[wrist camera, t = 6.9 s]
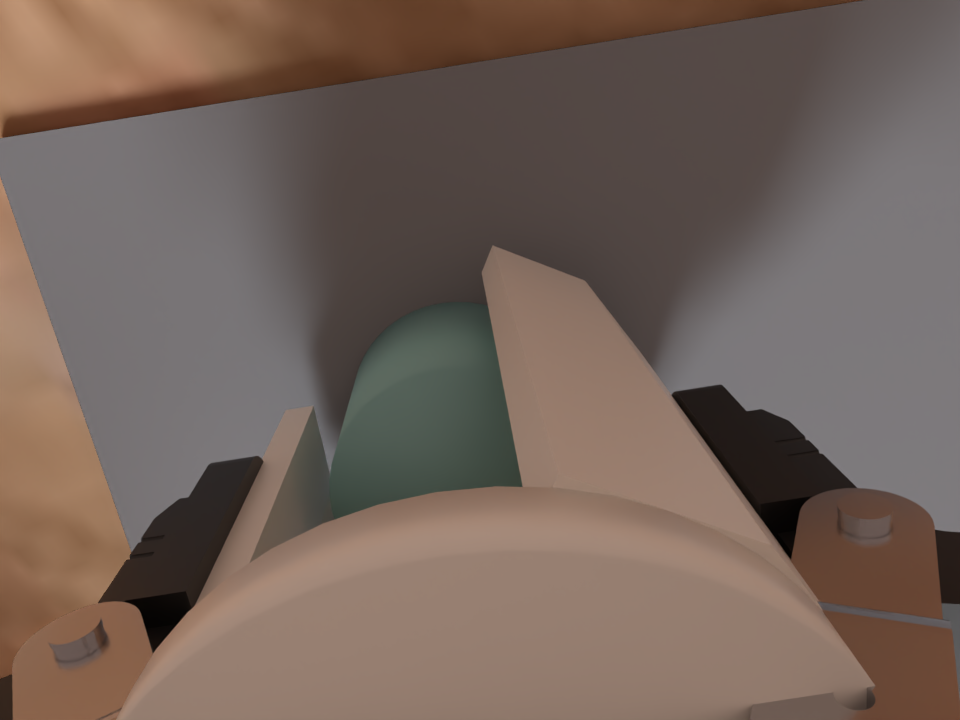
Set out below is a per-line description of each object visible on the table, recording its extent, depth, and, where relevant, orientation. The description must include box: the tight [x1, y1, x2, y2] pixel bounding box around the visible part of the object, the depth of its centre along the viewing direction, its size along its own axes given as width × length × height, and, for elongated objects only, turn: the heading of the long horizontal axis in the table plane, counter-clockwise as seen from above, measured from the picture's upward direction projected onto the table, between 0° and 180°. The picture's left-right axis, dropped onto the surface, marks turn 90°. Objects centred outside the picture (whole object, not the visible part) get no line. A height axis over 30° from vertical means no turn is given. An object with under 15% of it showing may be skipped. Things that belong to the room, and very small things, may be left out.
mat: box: [0, 0, 960, 552], centre depth 16 cm, size 24×14×1 cm, turn 99°
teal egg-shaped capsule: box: [329, 302, 523, 519], centre depth 14 cm, size 4×4×4 cm
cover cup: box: [116, 245, 875, 720], centre depth 10 cm, size 6×6×9 cm
